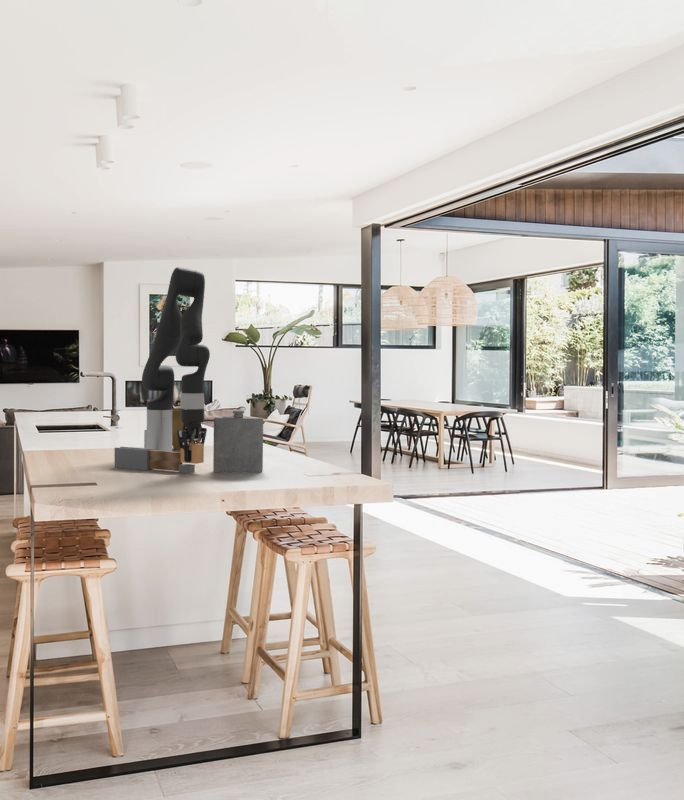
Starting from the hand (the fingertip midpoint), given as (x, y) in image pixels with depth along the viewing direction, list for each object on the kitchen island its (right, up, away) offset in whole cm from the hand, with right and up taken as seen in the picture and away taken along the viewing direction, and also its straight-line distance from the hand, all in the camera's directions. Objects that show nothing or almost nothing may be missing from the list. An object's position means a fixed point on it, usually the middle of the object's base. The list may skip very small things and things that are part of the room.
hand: (191, 460), depth 273 cm
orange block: (0, -1, 0) cm, 1 cm away
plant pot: (-15, 0, +66) cm, 67 cm away
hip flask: (+14, -4, +5) cm, 15 cm away
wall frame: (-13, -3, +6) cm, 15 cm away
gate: (-10, -4, +5) cm, 12 cm away
